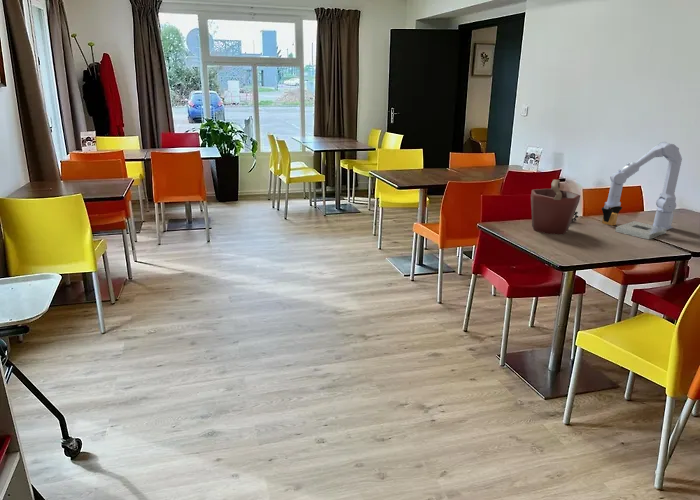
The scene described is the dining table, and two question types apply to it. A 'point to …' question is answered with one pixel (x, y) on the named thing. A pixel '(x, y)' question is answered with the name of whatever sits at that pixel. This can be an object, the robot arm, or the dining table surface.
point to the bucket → (553, 209)
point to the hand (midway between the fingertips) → (609, 220)
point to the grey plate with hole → (641, 230)
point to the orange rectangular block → (611, 219)
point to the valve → (575, 216)
